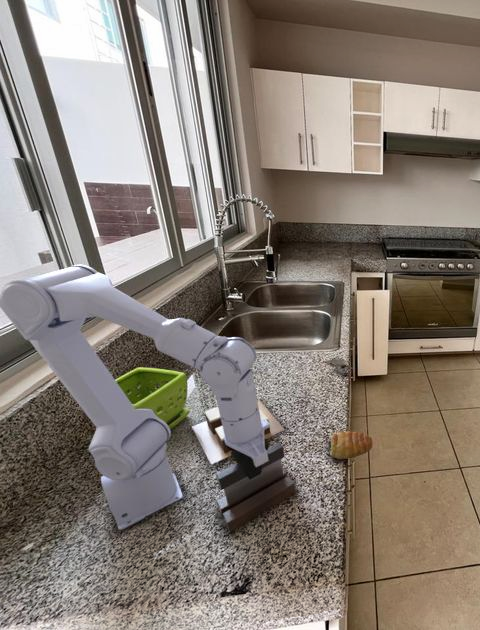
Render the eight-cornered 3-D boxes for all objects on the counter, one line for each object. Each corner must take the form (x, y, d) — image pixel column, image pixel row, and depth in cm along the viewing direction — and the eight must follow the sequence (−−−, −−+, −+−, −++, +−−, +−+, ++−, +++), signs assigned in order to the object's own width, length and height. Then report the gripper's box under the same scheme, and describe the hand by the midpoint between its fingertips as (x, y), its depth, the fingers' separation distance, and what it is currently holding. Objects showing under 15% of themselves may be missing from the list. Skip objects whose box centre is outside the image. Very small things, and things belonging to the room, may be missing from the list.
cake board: (211, 466, 72) (211, 464, 72) (191, 428, 83) (191, 426, 82) (285, 431, 83) (285, 429, 82) (259, 401, 93) (259, 399, 93)
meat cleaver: (343, 358, 116) (328, 361, 115) (343, 355, 116) (328, 357, 114) (349, 375, 106) (332, 378, 104) (348, 371, 105) (332, 374, 104)
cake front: (224, 453, 75) (221, 439, 73) (218, 442, 78) (214, 428, 76) (270, 432, 81) (268, 418, 80) (262, 422, 84) (260, 409, 83)
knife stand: (229, 533, 59) (227, 523, 58) (218, 510, 63) (216, 500, 62) (296, 492, 67) (294, 483, 66) (282, 474, 71) (281, 465, 70)
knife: (226, 510, 60) (218, 479, 57) (223, 504, 61) (215, 473, 58) (287, 476, 67) (283, 446, 64) (283, 471, 68) (279, 442, 65)
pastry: (371, 436, 82) (371, 423, 80) (373, 457, 76) (373, 444, 74) (331, 440, 80) (330, 427, 79) (329, 463, 74) (328, 449, 72)
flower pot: (153, 407, 89) (139, 365, 85) (199, 415, 87) (188, 372, 82) (96, 445, 77) (77, 398, 72) (149, 455, 74) (133, 407, 70)
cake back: (213, 434, 80) (209, 421, 78) (207, 425, 83) (204, 411, 81) (257, 416, 86) (254, 403, 85) (250, 407, 90) (248, 394, 88)
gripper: (282, 421, 55) (291, 483, 60) (248, 383, 64) (259, 440, 69) (235, 442, 50) (249, 508, 55) (206, 398, 60) (221, 458, 65)
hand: (252, 472), depth 62 cm, fingers closed on knife, 1 cm apart
